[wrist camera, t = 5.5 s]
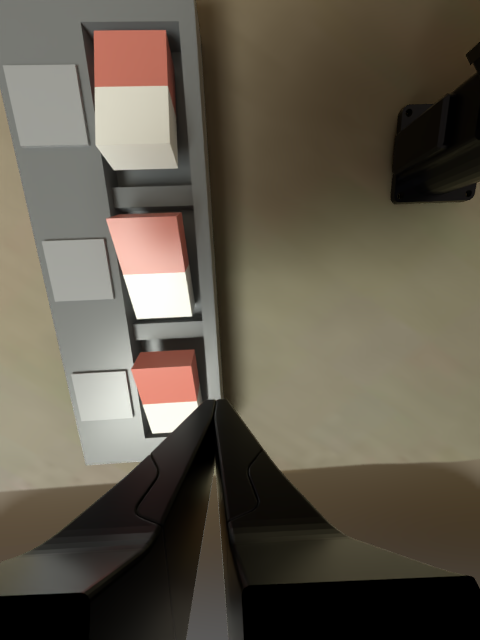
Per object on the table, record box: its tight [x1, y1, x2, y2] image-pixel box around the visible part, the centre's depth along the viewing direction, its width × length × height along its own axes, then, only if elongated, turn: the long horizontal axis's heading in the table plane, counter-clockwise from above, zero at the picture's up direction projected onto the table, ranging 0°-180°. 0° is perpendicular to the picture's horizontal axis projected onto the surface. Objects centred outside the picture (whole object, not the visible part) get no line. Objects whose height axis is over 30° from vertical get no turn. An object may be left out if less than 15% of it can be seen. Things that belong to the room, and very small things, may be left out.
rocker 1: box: [94, 30, 178, 170], centre depth 13 cm, size 4×6×2 cm, turn 2°
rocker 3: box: [131, 349, 202, 434], centre depth 17 cm, size 4×6×2 cm, turn 2°
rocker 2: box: [106, 212, 195, 319], centre depth 15 cm, size 4×6×2 cm, turn 2°
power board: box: [0, 0, 224, 465], centre depth 17 cm, size 11×30×4 cm, turn 2°
